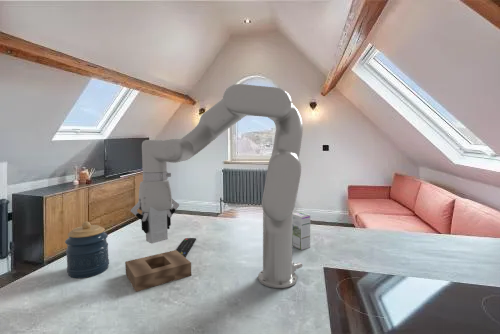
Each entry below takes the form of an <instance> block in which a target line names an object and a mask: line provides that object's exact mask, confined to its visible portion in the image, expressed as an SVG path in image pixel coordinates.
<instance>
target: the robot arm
mask: <svg viewBox="0 0 500 334" xmlns="http://www.w3.org/2000/svg"><path fill="white" fill-rule="evenodd" d="M247 115H248V116H253V117H263V118H264V117H265V118H268V119H270V120H271V121H272V122H274V125H275V132H274V134H275V135H274V141H273V146H272V150H271V151H272V152H271V155H270V159H269V161H268V163H267V164H268V166H267V170H266V177H265V182H264V188H263V194H262V198H261V208H262V270H261V271H259V273H258V274H257V275H258V276H257V277H258V281H259V283H260V284H262V285H263V286H265V287H269V288H271V289H272V288H274V289H286V288H290V287H292V286H294V285H295V284H296V283H297V280H298V277H297V274H296V271H297V270H299V269H301V268H302V267H303V263H302V262H301V261H299V262H296V263H295V261H293V246H292V233H293V218H292V214H293V212H294V210H295V207H296V206H295V205H296V203H297V202H296V201H297V197H298V191H299V187H300V186H299V185H300V181H301V180H300V179H301V175H302V163H301V160H300V152H301V148H302V141H303V140H302V139H303V134H304V133H303V132H304V124H303V119H302V117H301V114H300V112H299V110H298V109H297V108H296V106H295V105H294V104H293V103H292V98H291V95H290V93H288V92H287V91H286V90H284V89H283V88H280V87H276V86H263V85H254V84H253V85H252V84H243V83H236V84H232V85H229V86H228V88H226V89H225V90H224V93H223V96H222V99H220V100H219V101H218V102H216V103H215V104H214V105H212V106H211V107H210V108H208V110H206V111H205V112H203V113H202V114H201V116H200V118H199V122H198V123H197V125H196V126H195V127H194V128H193V129H192V130H191V131H189V132H188V133H187V134H186V135H184V136H183V137H182V138H171V139H170V138H169V139H165V140H163V139H145V140H143V141H142V143H141V155H142V156H141V160H142V161H141V162H142V164H141V165H142V181H140V182H139V189H138V202H137V203H135V204H134V206H133V207H132V208H131V209H130V213H132V214H133V215H134V216H135V217H136V218H138V219H140V221H141V223H140V224H141V231H143V232H144V233H145V234H146V233H148V221H147V220H146V218H147V216H148V213H149V208H154V209H155V210H157V211H162V210H167V230H170V229H171V228H170V227H171V226H172V222H171V219H172V216H173V214H174V213H175V212H176V210H178V209H179V206H180V204H179V203H178V202H177V201H176V200H174V199H173V197H172V189H171V185H170V181H169V180H168V178H169V177H171V176H172V173H171V172H168V171H167V169H168V168H167V163H181V162H185V161H188V160H190V159H192V158H193V157H195V155H197V154H198V153H199V152H201V151H202V150H204V149H205V148H206V147H208V146H209V145H210V144H211V143H213V141H215V140H217V138H218V137H219V136H220V135H222V134H223V133H225V132H226V131H227V130H228V129H230V128H231V127H233V126H234V125H235V124H236V123H237V124H238V122H240V121H241V120H242V119H244V118H245V117H247ZM138 210H139V211H141V213H140V212H138Z"/></svg>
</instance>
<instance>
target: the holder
mask: <svg viewBox="0 0 500 334" xmlns="http://www.w3.org/2000/svg"><path fill="white" fill-rule="evenodd" d="M124 264H125V265H124V266H125V275H126V277H127V279H128V280H129V282H130V285H131V286H132V288H133V289H134V292H140V291H143V290H147V289H150V288H153V287H157V286H160V285H164V284H166V283H172V282H174V281H177V280H181V279H185V278H187V277H191V276H192V262H191V261H190V260H189V259H188V258H187V257H184V256H183V255H182V254H180V253H179V252H178V251H177V250H176V249H175V250H169V251H165V252H161V253H158V254H153V255H148V256H145V257H139V258H135V259H132V260H131V259H130V260H126V261H124Z"/></svg>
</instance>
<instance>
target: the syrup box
mask: <svg viewBox="0 0 500 334" xmlns="http://www.w3.org/2000/svg"><path fill="white" fill-rule="evenodd" d="M292 218H293V233H292V248H293V247H294V248H295V249H299V251H300V250H301V251H303V250H306V249H309V248H311V214H309V213H306V212H303V211H299V212H294V213H292Z"/></svg>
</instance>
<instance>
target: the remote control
mask: <svg viewBox="0 0 500 334" xmlns="http://www.w3.org/2000/svg"><path fill="white" fill-rule="evenodd" d="M196 241H197V238H196V237H186V238H183V240H182V241H181V242H180V244H179V245H178V247H177V248H176V249H175V250H177V251H178V252H179V253H180V254H182V255H183V256H184V257H185V258H187V256H188V254H189V252H190V251H191V248H193V246H194V244H195V242H196Z"/></svg>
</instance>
